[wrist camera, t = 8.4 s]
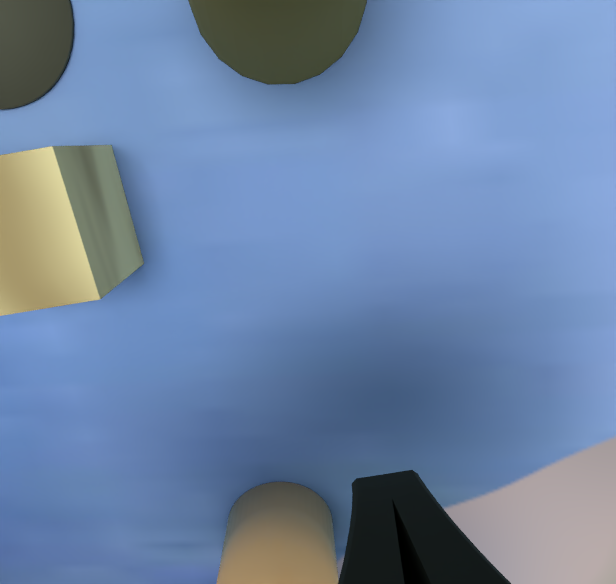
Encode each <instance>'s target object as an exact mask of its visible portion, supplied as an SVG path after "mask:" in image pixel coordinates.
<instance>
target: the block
mask: <svg viewBox="0 0 616 584" xmlns="http://www.w3.org/2000/svg"><path fill="white" fill-rule="evenodd" d="M143 264H144V262H143V258H142V254H141V251H140V247H139V243H138V240H137V236H136V233H135V229H134V225H133V222H132V218H131V214H130V211H129V207H128V203H127V200H126V196H125V193H124V189H123V185H122V182H121V178H120V174H119V171H118V167H117V164H116V160H115V156H114V153H113V149H112V145H90V146H52V147H46V148H40V149H34V150H28V151H22V152H17V153H11V154H5V155H0V316H1V315H7V314H14V313H20V312H26V311H32V310H38V309H44V308H50V307H56V306H62V305H68V304H75V303H81V302H87V301H93V300H99V299H101V298H102V297H104V296H105V295H106V294H107V293H109V292H110V291H111V290H112V289H113V288H115V287H116V286H117V285H118V284H120V283H121V282H122V281H123V280H125V279H126V278H127V277H128V276H129V275H131V274H132V273H133V272H134V271H136V270H137V269H138V268H139V267H140V266H142V265H143Z"/></svg>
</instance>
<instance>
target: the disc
mask: <svg viewBox="0 0 616 584" xmlns="http://www.w3.org/2000/svg"><path fill="white" fill-rule="evenodd" d="M73 36H74V22H73V13H72V7H71V3H70V0H0V109H11V108H17V107H20V106H24V105H27V104H29V103H31V102H33V101H35V100H37V99H38V98H40V97H42V96H43V95H44V94H46V93H47V92H48V91H49V90H50V89H51V88H52V87H53V86H54V85H55V83H56V82H57V81H58V80H59V78H60V77H61V75H62V73H63V72H64V70H65V67H66V65H67V63H68V60H69V57H70V53H71V49H72V43H73Z"/></svg>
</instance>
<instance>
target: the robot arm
mask: <svg viewBox="0 0 616 584" xmlns="http://www.w3.org/2000/svg"><path fill="white" fill-rule="evenodd" d="M352 492H353V497H352V514H351V522H350V529H349V535H348V541H347V546H346V551H345V557H344V562H343V566H342V570H341V574H340V578H339V582H338V584H511V583H510V582H509V581H508V580H507V579H506V578H505V577H504V576H503V575H502V574H501V573H500V572H499V571H498V570H497V569H496V568H495V567H494V566H493V565H492V564H491V563H490V562H489V561H488V560H487V559H486V557H485V556H484V555H483V554H482V553H481V552H480V551H479V550H478V549H477V548H476V547H475V546H474V544H473V543H472V542H471V541H470V540H469V539H468V538H467V537H466V535H465V534H464V533H463V532H462V531H461V530H460V529H459V528H458V526H457V525H456V524H455V523H454V522H453V521H452V519H451V518H450V517H449V516H448V514H447V513H446V512H445V511H444V509H443V508H442V507H441V506H440V504H439V503H438V502H437V501H436V499H435V498H434V497H433V495H432V494H431V493H430V491H429V490H428V488H427V487H426V486H425V484H424V483H423V481H422V480H421V478H420V477H419V475H418V474H417V473H416V472H414V471H413V470H409V471H402V472H396V473H389V474H383V475H377V476H370V477H364V478H357V479H356V480H355V481H354V482H353V483H352Z"/></svg>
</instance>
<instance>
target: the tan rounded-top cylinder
mask: <svg viewBox="0 0 616 584" xmlns="http://www.w3.org/2000/svg"><path fill="white" fill-rule="evenodd" d="M338 582H339V581H338V571H337V561H336V551H335V541H334V531H333V521H332V515H331V512H330V510H329V507H328V506H327V504H326V503H325V501H324V500H323V499H322V498H321V497H320V496H319V495H318V494H317V493H315V492H314V491H312V490H311V489H309V488H307V487H305V486H302V485H299V484H295V483H290V482H271V483H266V484H262V485H259V486H256V487H254V488H252V489H250V490H248V491H247V492H245V493H244V494H243V495H242V496H240V497H239V499H238V500H237V501H236V502H235V503H234V505H233V506H232V508H231V511H230V513H229V516H228V522H227V527H226V533H225V539H224V544H223V550H222V556H221V561H220V567H219V573H218V578H217V584H338Z"/></svg>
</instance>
